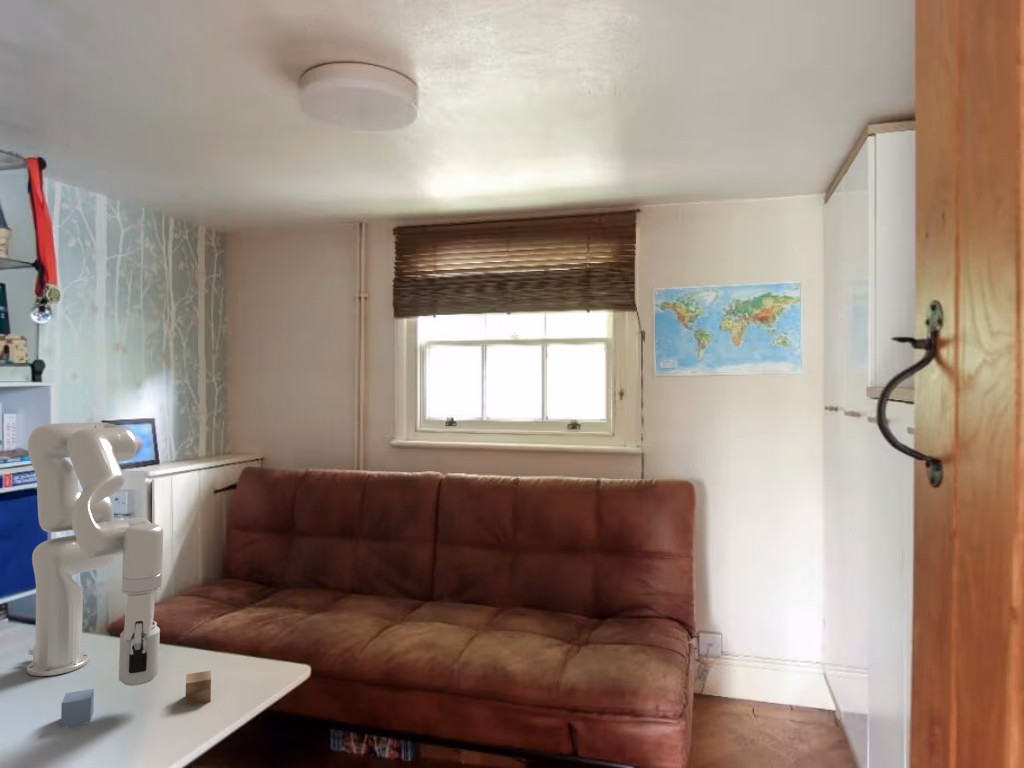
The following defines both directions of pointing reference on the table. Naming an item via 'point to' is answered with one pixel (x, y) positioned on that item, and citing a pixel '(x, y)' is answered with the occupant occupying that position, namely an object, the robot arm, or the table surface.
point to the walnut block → (198, 688)
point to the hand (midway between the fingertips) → (139, 663)
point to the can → (152, 659)
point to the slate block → (77, 707)
